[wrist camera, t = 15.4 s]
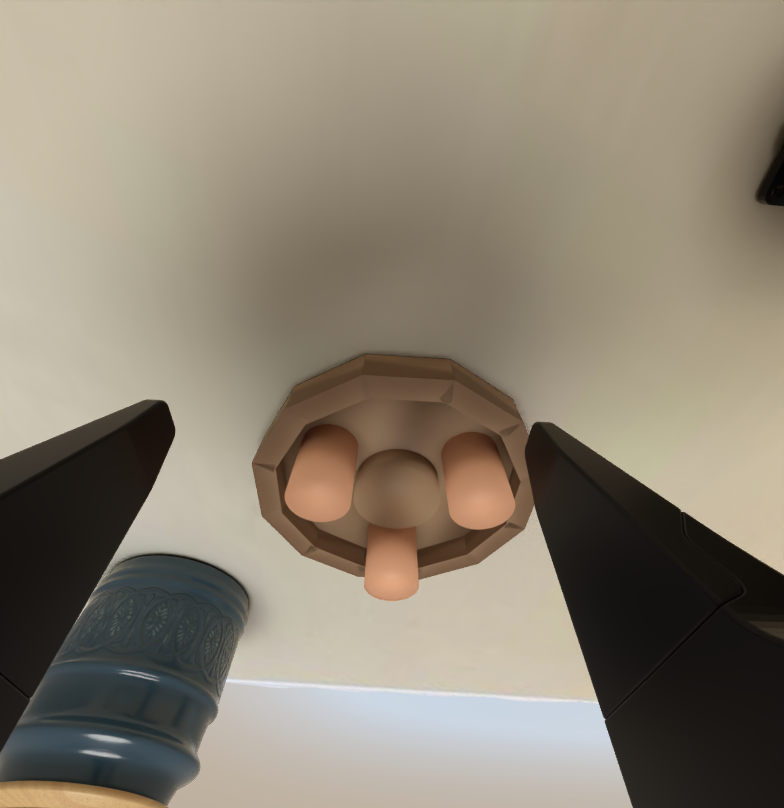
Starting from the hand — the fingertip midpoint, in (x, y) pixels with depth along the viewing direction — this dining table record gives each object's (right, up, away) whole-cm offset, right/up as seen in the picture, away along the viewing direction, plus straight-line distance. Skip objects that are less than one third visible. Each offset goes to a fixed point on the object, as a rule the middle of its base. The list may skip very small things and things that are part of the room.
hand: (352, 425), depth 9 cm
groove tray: (+1, -4, +17) cm, 18 cm away
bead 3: (+6, -3, +15) cm, 17 cm away
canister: (-19, -17, +26) cm, 37 cm away
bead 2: (+1, -9, +19) cm, 21 cm away
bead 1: (-3, -2, +15) cm, 15 cm away
